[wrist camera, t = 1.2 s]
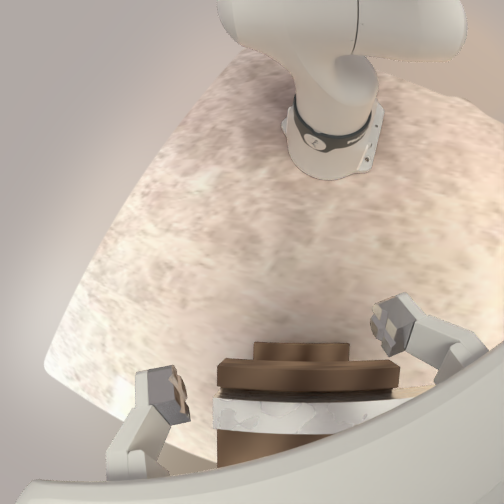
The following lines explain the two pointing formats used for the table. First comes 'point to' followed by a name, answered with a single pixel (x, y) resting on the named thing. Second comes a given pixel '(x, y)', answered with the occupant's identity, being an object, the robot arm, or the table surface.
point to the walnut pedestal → (294, 388)
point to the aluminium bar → (303, 409)
